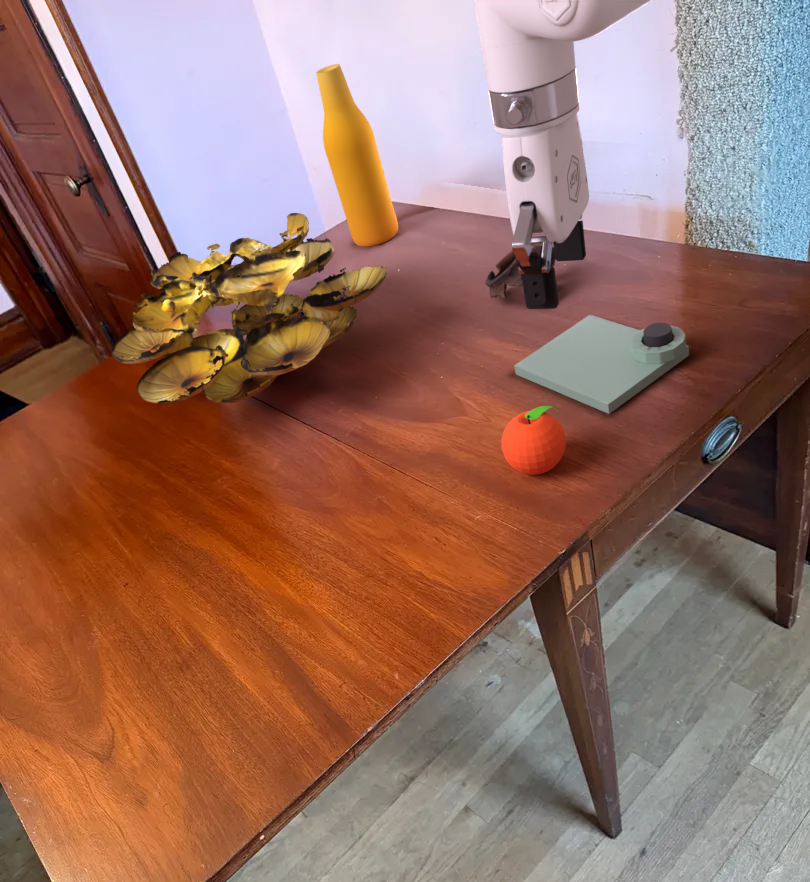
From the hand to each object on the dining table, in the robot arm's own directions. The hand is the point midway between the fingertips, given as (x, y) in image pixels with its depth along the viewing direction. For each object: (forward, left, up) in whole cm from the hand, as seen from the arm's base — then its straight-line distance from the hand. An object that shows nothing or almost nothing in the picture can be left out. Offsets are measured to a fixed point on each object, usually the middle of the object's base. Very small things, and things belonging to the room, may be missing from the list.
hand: (557, 282), depth 77 cm
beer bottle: (+73, -22, -17) cm, 78 cm away
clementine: (-3, +8, -17) cm, 19 cm away
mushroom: (+49, +16, -17) cm, 54 cm away
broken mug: (+27, -19, -17) cm, 37 cm away
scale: (+5, -10, -17) cm, 20 cm away
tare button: (-1, -14, -14) cm, 20 cm away
